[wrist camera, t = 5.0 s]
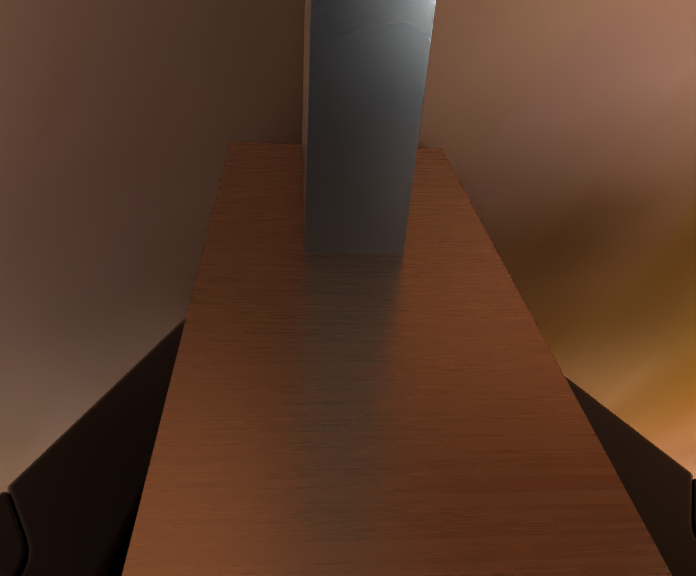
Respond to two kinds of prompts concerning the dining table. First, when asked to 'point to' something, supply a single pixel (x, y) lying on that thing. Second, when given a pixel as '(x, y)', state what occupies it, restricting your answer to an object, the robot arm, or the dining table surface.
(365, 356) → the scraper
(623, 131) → the dining table surface
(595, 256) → the dining table surface
